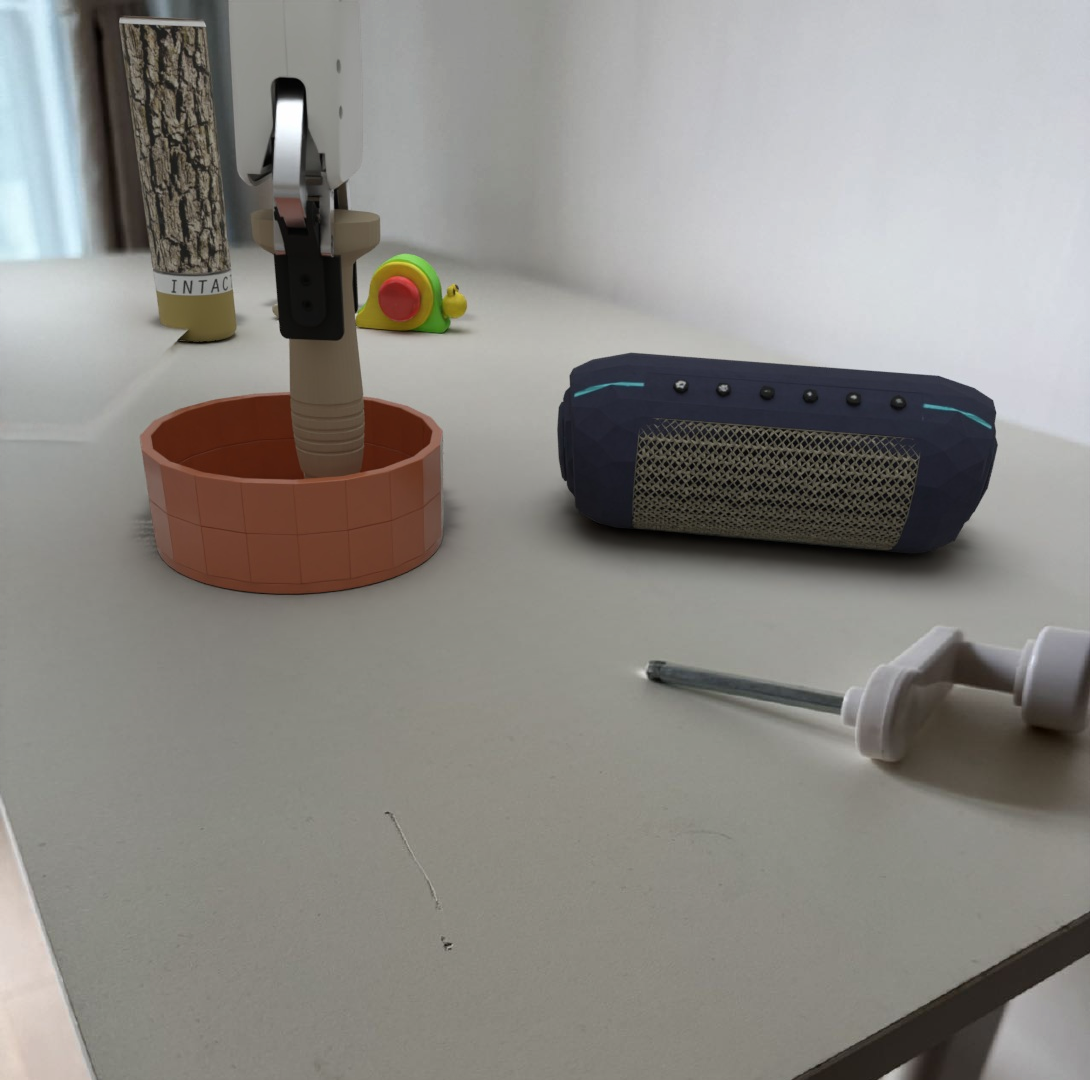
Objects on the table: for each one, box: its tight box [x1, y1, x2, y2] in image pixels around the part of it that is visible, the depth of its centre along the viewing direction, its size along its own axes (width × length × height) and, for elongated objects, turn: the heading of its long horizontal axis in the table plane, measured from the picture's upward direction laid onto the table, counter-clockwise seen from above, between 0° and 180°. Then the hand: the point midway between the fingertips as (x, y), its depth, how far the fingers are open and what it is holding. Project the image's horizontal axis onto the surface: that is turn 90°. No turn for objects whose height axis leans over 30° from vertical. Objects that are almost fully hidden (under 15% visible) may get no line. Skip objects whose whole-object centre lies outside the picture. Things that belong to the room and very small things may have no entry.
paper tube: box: [118, 15, 238, 343], centre depth 98 cm, size 7×7×25 cm
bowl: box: [139, 391, 445, 595], centre depth 64 cm, size 16×16×6 cm
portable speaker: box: [556, 352, 999, 554], centre depth 65 cm, size 25×10×10 cm, turn 82°
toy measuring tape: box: [271, 253, 468, 334], centre depth 109 cm, size 6×20×7 cm, turn 80°
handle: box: [250, 208, 381, 479], centre depth 61 cm, size 5×6×15 cm
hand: (321, 321), depth 60 cm, fingers closed on handle, 4 cm apart
